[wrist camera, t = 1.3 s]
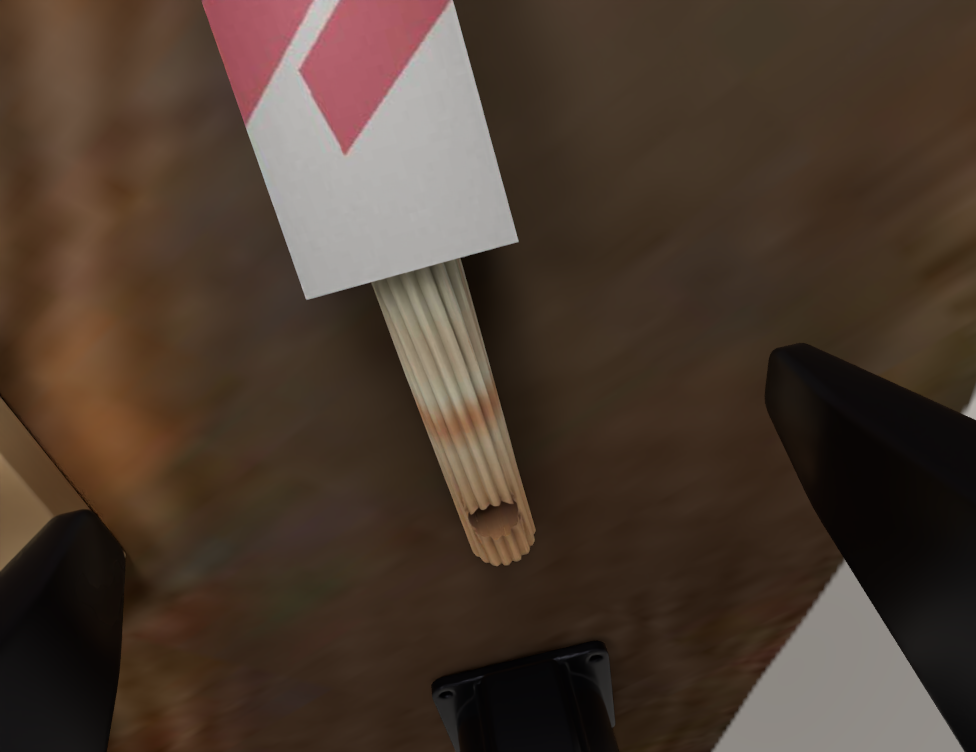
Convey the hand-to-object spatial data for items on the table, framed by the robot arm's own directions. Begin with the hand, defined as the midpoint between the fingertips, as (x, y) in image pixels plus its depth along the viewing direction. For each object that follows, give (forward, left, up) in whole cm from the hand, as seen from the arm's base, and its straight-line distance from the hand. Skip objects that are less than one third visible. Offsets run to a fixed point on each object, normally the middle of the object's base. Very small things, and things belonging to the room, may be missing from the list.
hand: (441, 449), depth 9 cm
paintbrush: (0, 0, -7) cm, 7 cm away
